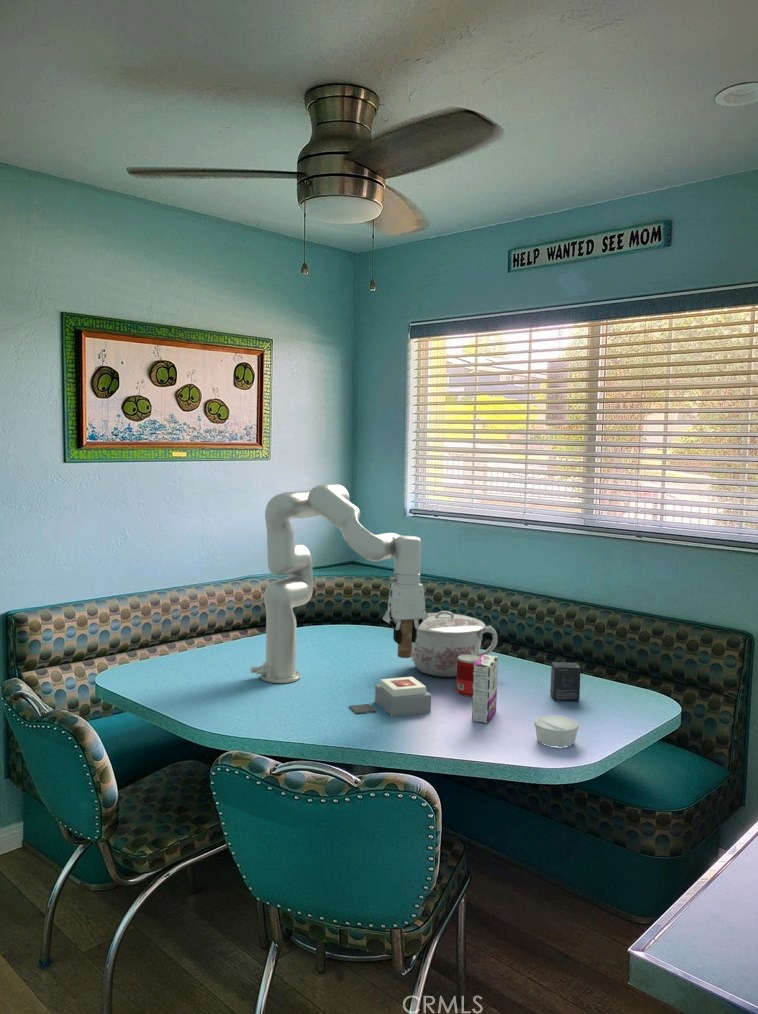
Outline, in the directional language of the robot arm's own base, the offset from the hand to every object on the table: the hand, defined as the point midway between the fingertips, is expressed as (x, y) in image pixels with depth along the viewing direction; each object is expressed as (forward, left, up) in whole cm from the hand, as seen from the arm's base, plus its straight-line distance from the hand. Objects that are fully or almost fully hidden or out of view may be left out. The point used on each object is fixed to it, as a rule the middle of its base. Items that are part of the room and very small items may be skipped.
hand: (404, 641), depth 226 cm
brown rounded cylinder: (0, 0, -4) cm, 4 cm away
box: (+51, -7, -19) cm, 55 cm away
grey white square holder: (0, 0, -19) cm, 19 cm away
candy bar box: (+19, -14, -19) cm, 31 cm away
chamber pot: (+27, +28, -19) cm, 43 cm away
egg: (0, 0, -16) cm, 16 cm away
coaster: (-12, +1, -19) cm, 23 cm away
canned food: (+25, +6, -19) cm, 32 cm away
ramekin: (+28, -36, -20) cm, 50 cm away
